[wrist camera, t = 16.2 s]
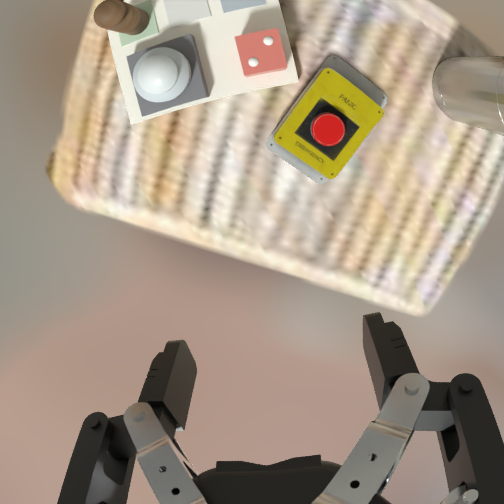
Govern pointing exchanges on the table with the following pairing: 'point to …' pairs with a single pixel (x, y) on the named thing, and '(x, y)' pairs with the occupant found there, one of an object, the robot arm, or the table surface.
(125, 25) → the pawn
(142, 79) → the dome
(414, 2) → the table surface
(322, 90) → the emergency button
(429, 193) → the table surface
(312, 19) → the table surface
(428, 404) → the robot arm
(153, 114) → the board
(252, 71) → the die
